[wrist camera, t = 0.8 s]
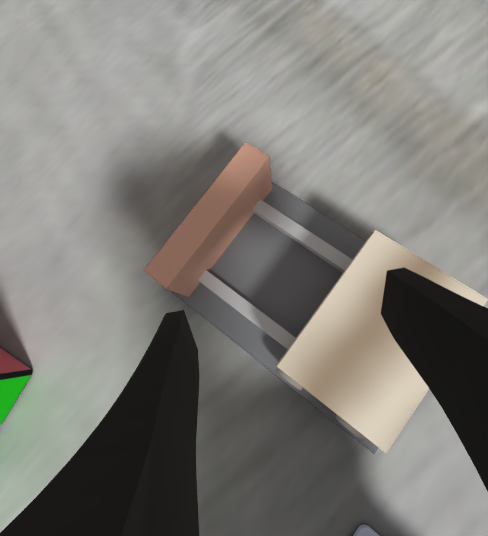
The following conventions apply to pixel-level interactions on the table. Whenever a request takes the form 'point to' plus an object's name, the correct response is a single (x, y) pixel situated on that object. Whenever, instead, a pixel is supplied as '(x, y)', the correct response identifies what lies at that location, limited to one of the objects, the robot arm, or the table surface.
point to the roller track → (256, 262)
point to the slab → (363, 346)
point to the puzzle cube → (11, 381)
